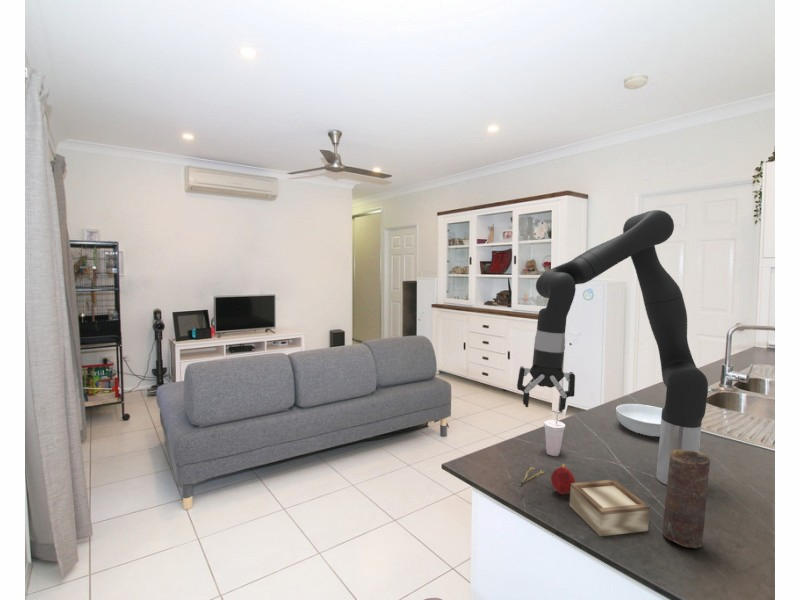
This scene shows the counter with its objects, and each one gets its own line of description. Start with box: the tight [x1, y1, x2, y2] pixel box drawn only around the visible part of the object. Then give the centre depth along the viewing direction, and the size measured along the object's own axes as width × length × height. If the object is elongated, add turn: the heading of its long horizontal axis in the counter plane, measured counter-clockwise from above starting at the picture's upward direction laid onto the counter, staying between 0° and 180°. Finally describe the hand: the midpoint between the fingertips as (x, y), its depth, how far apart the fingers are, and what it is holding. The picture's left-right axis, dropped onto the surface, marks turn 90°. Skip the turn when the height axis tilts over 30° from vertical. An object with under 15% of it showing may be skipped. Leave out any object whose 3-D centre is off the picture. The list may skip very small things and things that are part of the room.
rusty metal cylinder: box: [662, 449, 711, 549], centre depth 93 cm, size 8×7×20 cm
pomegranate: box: [550, 463, 576, 495], centre depth 112 cm, size 6×6×8 cm
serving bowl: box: [615, 403, 664, 438], centre depth 154 cm, size 21×21×7 cm
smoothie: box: [543, 409, 566, 457], centre depth 135 cm, size 6×6×14 cm
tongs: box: [518, 466, 545, 488], centre depth 120 cm, size 4×13×2 cm, turn 144°
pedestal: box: [569, 479, 651, 537], centre depth 102 cm, size 12×12×6 cm
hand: (543, 408), depth 114 cm, fingers open, 8 cm apart
